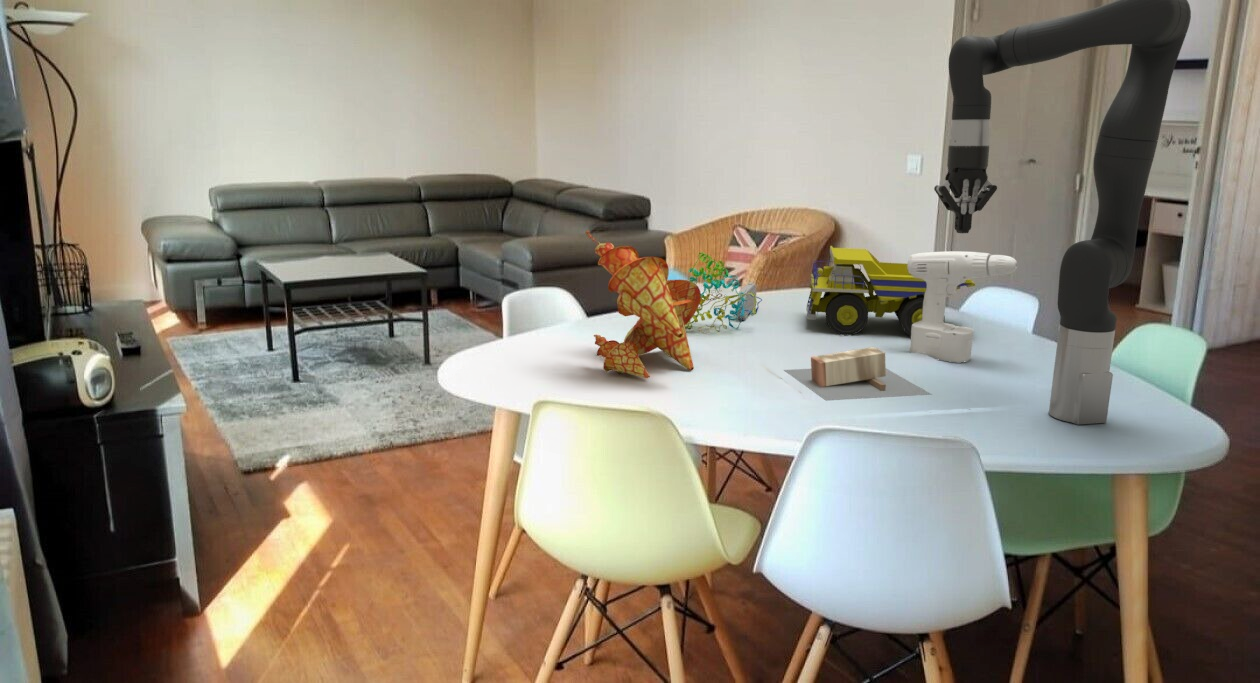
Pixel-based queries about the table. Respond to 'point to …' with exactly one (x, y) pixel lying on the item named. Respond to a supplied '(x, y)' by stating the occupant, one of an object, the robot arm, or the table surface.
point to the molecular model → (718, 285)
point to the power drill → (941, 282)
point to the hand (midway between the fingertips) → (962, 232)
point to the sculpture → (646, 309)
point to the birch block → (848, 366)
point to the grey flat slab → (750, 300)
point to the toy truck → (865, 291)
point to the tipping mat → (860, 386)
